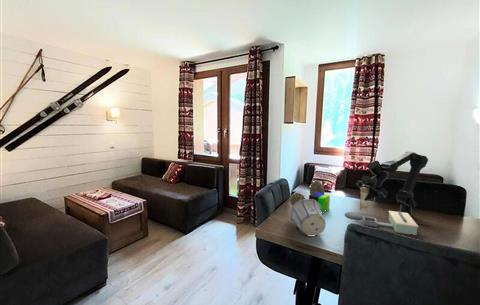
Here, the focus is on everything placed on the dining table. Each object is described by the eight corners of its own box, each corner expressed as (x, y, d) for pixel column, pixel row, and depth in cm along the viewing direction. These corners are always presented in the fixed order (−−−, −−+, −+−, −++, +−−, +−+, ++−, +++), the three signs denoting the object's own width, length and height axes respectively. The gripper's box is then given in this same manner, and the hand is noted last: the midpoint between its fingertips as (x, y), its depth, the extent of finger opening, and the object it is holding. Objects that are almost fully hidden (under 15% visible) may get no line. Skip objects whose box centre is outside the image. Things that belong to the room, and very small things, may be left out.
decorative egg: (307, 197, 178) (308, 179, 176) (321, 197, 177) (322, 179, 175) (311, 202, 167) (312, 182, 165) (326, 202, 167) (326, 182, 165)
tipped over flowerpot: (333, 212, 111) (310, 183, 138) (298, 215, 109) (282, 185, 137) (329, 239, 117) (308, 206, 145) (296, 243, 116) (281, 208, 144)
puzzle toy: (315, 205, 160) (315, 192, 159) (329, 209, 153) (329, 195, 151) (308, 209, 153) (309, 195, 152) (322, 213, 146) (323, 198, 144)
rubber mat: (344, 212, 147) (344, 211, 147) (361, 214, 143) (361, 213, 143) (344, 217, 138) (345, 217, 138) (363, 220, 134) (363, 219, 134)
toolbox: (361, 215, 142) (361, 205, 141) (407, 221, 132) (407, 211, 132) (364, 227, 125) (365, 217, 124) (417, 235, 115) (418, 224, 115)
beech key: (359, 207, 136) (360, 187, 135) (368, 209, 134) (369, 188, 132) (359, 210, 132) (360, 188, 131) (367, 211, 130) (369, 190, 128)
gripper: (358, 168, 140) (343, 186, 139) (385, 174, 122) (367, 195, 121) (368, 179, 143) (353, 197, 142) (395, 186, 125) (378, 207, 124)
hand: (362, 199), depth 132 cm, fingers closed on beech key, 4 cm apart
